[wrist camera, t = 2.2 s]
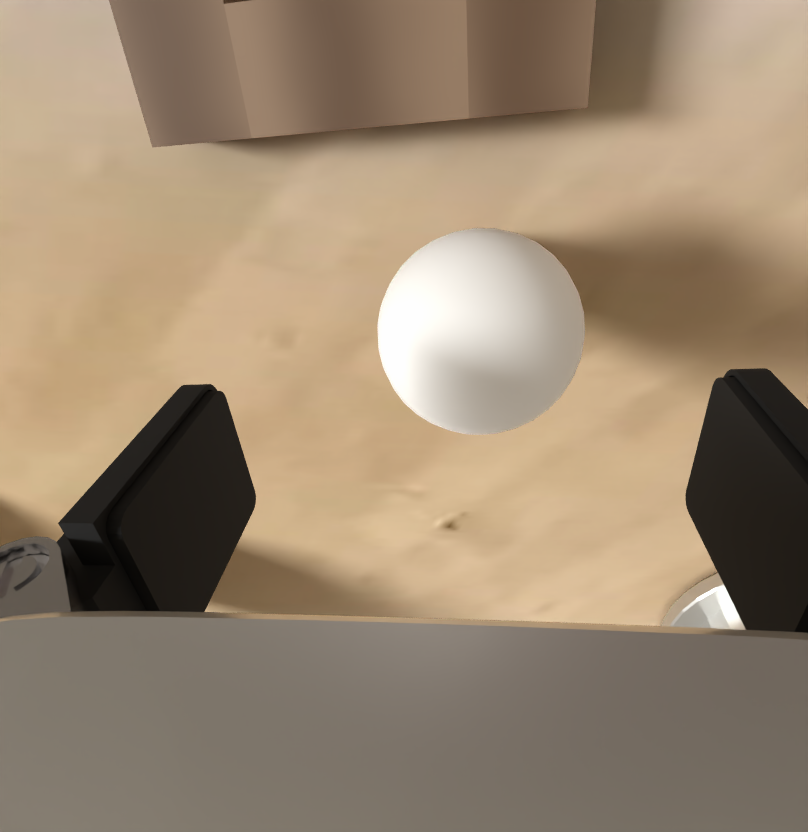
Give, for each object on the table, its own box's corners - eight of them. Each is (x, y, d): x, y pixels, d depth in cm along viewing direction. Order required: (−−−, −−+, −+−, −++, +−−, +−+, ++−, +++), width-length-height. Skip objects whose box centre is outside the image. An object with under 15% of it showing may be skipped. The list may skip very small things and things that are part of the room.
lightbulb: (578, 211, 22) (652, 310, 12) (518, 344, 25) (541, 501, 16) (432, 162, 21) (395, 226, 12) (391, 303, 25) (337, 439, 15)
